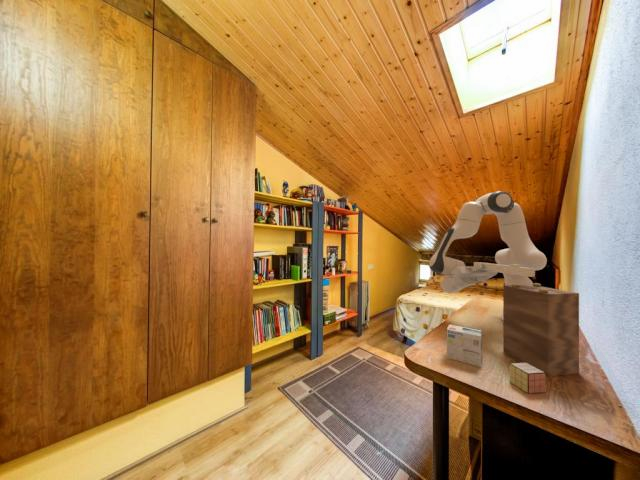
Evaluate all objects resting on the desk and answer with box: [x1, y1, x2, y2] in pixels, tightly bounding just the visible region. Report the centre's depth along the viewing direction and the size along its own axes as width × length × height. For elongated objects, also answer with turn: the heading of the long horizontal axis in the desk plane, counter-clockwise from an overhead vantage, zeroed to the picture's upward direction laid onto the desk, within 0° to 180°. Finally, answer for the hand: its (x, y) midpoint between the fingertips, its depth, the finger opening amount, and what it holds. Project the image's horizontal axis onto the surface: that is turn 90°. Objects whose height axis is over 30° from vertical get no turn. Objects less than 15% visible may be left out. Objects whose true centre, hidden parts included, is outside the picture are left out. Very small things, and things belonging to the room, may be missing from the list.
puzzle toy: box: [509, 362, 546, 394], centre depth 67 cm, size 6×6×6 cm
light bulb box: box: [446, 324, 483, 368], centre depth 83 cm, size 11×7×11 cm, turn 54°
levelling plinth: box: [502, 282, 580, 377], centre depth 81 cm, size 12×15×27 cm
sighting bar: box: [473, 261, 536, 278], centre depth 95 cm, size 3×24×4 cm, turn 9°
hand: (486, 265), depth 102 cm, fingers closed on sighting bar, 3 cm apart
